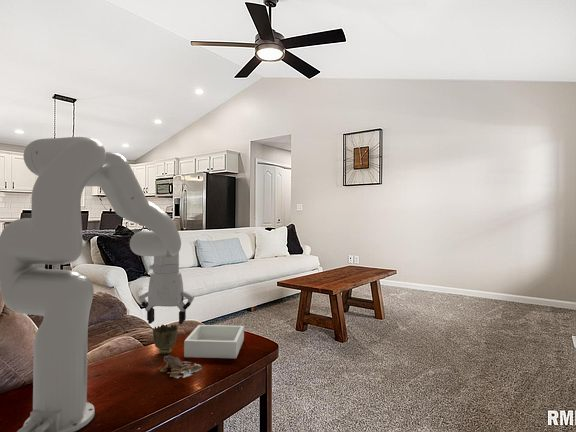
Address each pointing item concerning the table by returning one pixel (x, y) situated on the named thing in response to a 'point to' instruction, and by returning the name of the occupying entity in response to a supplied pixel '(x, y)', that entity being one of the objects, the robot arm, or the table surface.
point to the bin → (214, 341)
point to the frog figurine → (179, 367)
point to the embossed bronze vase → (164, 338)
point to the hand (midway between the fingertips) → (166, 322)
